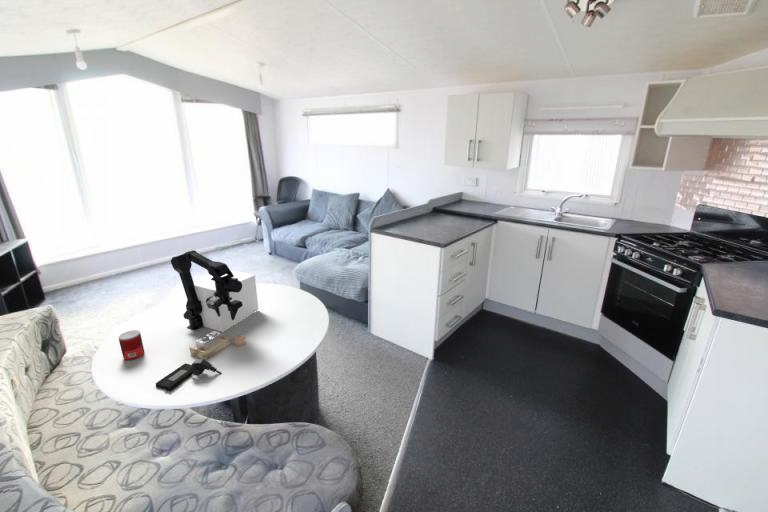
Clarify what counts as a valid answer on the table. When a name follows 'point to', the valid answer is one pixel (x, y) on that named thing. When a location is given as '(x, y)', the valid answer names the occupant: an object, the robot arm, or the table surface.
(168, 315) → the table surface
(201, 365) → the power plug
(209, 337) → the housing
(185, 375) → the vhs tape
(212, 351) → the stand
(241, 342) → the peach cylinder
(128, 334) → the canned food
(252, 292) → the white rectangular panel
